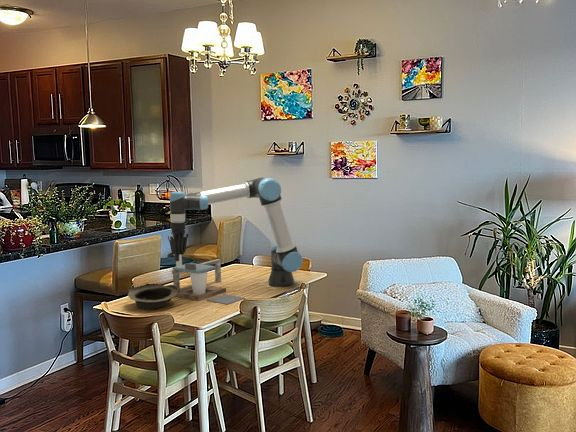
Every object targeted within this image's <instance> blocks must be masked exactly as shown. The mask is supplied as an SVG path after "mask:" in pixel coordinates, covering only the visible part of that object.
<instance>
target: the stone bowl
mask: <svg viewBox="0 0 576 432" xmlns="http://www.w3.org/2000/svg"><path fill="white" fill-rule="evenodd" d="M177 290H178V289H177V287H175V286H174V285H173V284H167V285H164V284H159V283H145V284H143V285H140V286H139V285H137V286H134V287H132V288H130V289H128V294H127V297H128V298H129V299H130V300H132V301H135V305H136V307H137V308H139V309H142V310H145V311H146V310H158V309H159V308H161V307H164V306H166V305H167V304H168V303H170V302H171V300H172V298H173V297H177V296H176V294H177Z"/></svg>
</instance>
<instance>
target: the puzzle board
mask: <svg viewBox="0 0 576 432" xmlns="http://www.w3.org/2000/svg"><path fill="white" fill-rule="evenodd" d="M221 263H222V259H218V258H217V259H214V260H210V261H209V260H208V261H205V262H201V263H200V264H202V265H210V266H213V265H214V266H215V267H216V269H214V281H215V283H216V284H217V283H221V282H222V272H221V271H222V268H221ZM180 273H185V272H184V271H177V270H173V269H172V270H171V274H172V281H173V282H172V285H174V286H175V287H177V289H178V290H177V294H176V296H175V297H176V298H177V297H178V298H183V299H188V300H192V301H198V302H199V301H203V300H205V299H209V298H212V297H214V296H217V295H222V294H223V293H224V294H225V293H226V292H227V288H226V287H223V286H215V285H209V284H206V291H205V293H204V294H201V295H198V294H193V289H192V284H190V285H186V286H183V287H181V285H180V283H181V282H180V281H181V280H180Z"/></svg>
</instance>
